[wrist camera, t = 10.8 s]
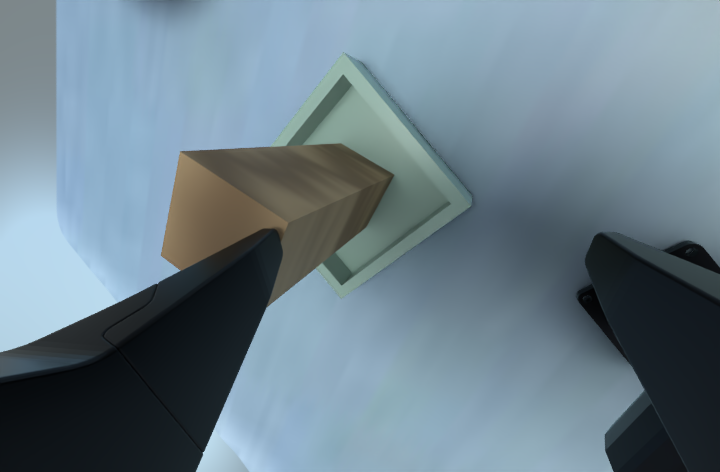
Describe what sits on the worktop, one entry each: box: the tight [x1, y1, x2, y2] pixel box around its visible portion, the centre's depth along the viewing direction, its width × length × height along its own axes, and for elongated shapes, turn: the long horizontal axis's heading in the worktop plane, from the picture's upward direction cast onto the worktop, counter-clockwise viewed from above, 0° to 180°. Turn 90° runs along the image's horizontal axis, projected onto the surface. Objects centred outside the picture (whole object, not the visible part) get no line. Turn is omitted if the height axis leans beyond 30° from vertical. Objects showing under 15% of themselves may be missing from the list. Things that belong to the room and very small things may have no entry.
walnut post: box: [161, 143, 394, 307], centre depth 16 cm, size 4×4×13 cm
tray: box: [271, 52, 473, 299], centre depth 22 cm, size 12×12×3 cm
